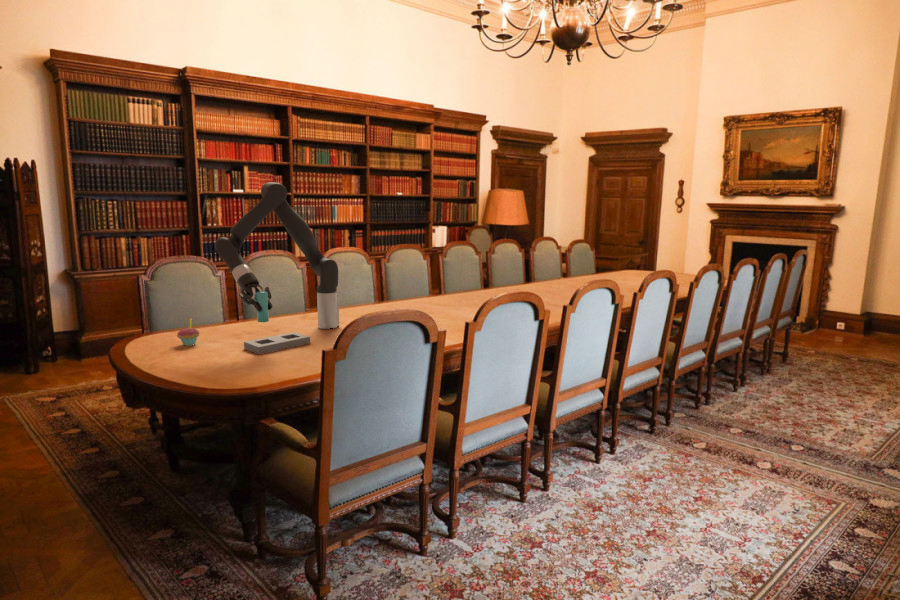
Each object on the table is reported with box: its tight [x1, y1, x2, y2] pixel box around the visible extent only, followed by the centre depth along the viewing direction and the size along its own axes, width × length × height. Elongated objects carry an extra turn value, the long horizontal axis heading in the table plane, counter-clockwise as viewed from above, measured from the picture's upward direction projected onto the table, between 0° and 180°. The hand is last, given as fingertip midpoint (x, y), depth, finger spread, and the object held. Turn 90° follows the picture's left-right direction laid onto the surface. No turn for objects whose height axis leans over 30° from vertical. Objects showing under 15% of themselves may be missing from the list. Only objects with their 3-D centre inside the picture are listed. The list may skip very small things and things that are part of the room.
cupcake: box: [176, 317, 200, 346], centre depth 243 cm, size 9×8×12 cm
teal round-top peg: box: [256, 291, 270, 323], centre depth 235 cm, size 4×4×12 cm
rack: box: [243, 331, 311, 355], centre depth 242 cm, size 24×12×3 cm, turn 137°
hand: (265, 309), depth 234 cm, fingers closed on teal round-top peg, 4 cm apart
